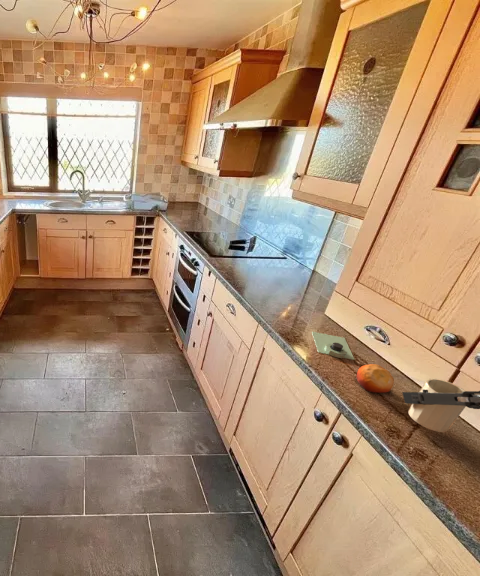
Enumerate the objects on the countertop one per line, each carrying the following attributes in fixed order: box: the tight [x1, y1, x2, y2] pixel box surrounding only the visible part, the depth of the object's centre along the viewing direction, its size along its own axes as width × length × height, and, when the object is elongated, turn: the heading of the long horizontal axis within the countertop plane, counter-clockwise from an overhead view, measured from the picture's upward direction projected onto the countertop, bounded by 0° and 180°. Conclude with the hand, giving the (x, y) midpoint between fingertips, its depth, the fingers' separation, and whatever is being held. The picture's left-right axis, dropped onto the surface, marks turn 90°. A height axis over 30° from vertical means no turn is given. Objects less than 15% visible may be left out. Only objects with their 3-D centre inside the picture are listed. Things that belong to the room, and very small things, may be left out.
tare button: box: [331, 343, 343, 352], centre depth 101 cm, size 3×3×2 cm
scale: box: [311, 331, 356, 361], centre depth 105 cm, size 10×14×3 cm
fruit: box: [354, 363, 395, 394], centre depth 89 cm, size 8×8×8 cm
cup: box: [408, 378, 467, 433], centre depth 74 cm, size 7×7×10 cm
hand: (422, 398), depth 78 cm, fingers closed on cup, 7 cm apart
